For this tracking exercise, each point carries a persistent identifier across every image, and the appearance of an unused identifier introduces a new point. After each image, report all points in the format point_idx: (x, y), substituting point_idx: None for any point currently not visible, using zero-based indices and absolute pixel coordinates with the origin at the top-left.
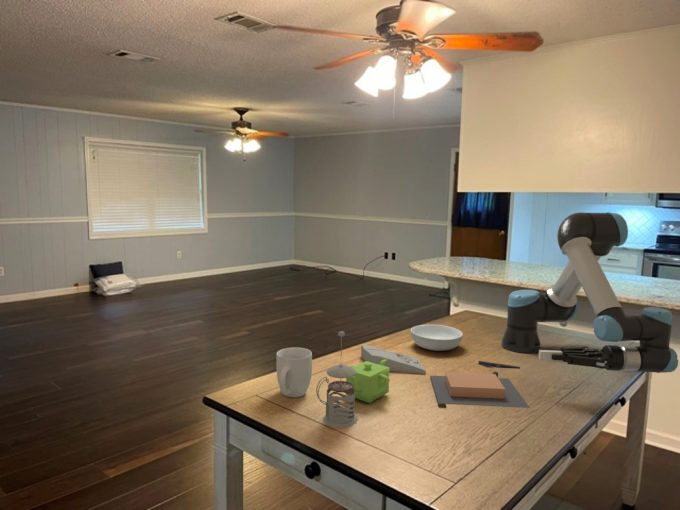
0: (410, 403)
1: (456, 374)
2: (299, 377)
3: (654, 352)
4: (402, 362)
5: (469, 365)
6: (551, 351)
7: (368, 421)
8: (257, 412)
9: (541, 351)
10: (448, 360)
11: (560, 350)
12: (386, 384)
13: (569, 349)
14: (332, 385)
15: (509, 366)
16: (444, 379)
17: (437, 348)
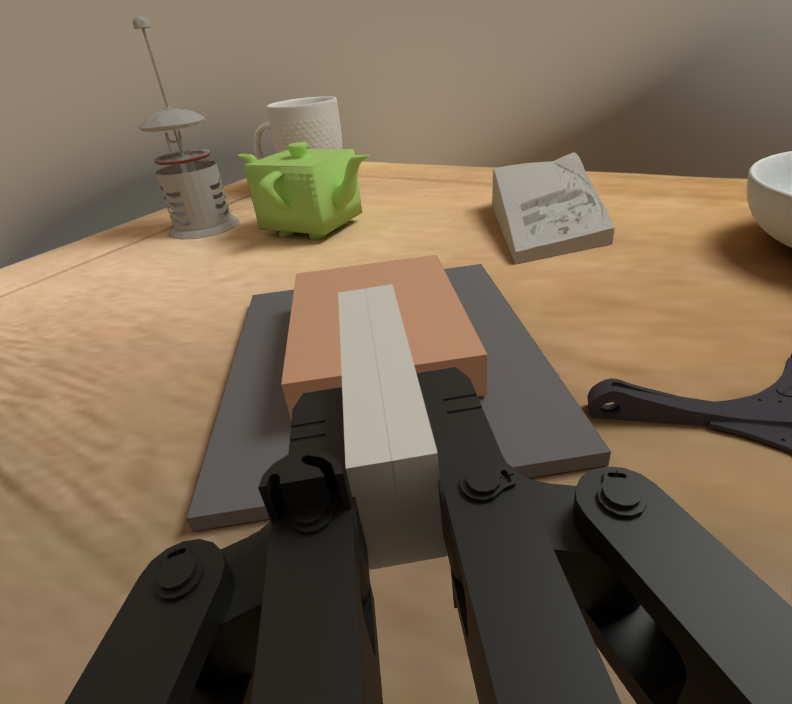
0: (278, 270)
1: (423, 272)
2: (277, 147)
3: None
4: (509, 207)
5: (730, 333)
6: (367, 358)
7: (188, 246)
8: (241, 185)
9: (343, 295)
10: (725, 285)
11: (485, 460)
12: (265, 198)
13: (716, 668)
14: (193, 154)
15: None
16: (459, 286)
17: (773, 233)
